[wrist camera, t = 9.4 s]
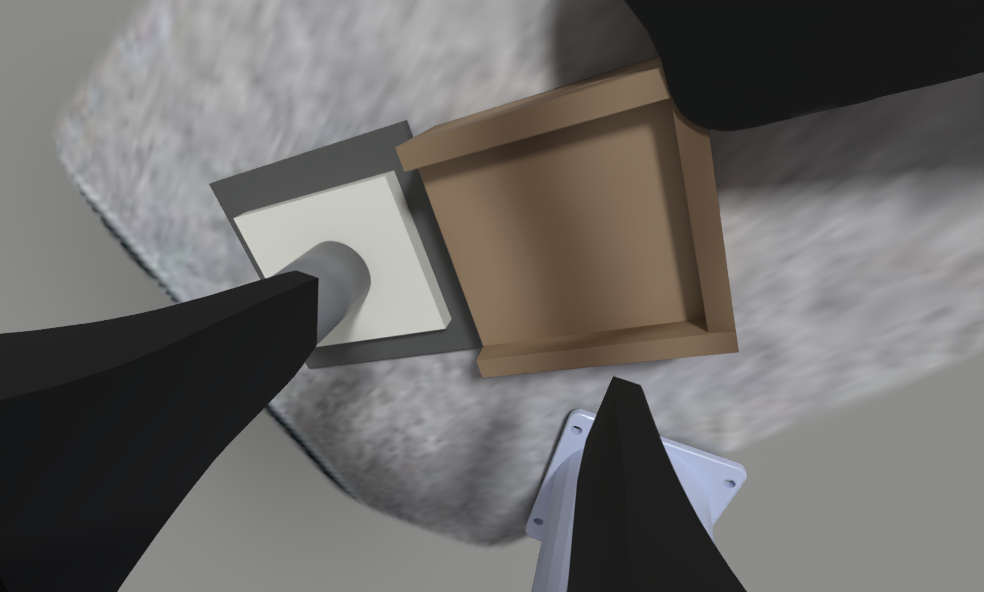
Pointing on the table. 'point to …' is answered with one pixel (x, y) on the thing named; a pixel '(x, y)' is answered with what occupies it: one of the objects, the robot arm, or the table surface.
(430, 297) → the cover plate
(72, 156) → the table surface
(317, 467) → the table surface
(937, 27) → the black sponge
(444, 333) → the rubber mat
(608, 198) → the walnut case
